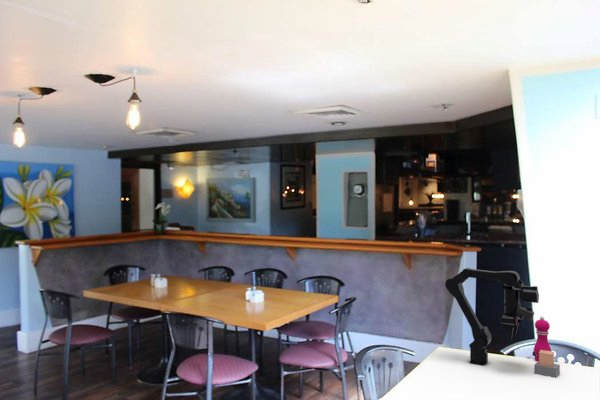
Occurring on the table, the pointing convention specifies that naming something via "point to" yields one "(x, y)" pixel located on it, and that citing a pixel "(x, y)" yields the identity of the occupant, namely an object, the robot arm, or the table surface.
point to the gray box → (547, 370)
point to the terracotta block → (546, 358)
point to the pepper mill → (541, 337)
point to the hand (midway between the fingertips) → (512, 337)
